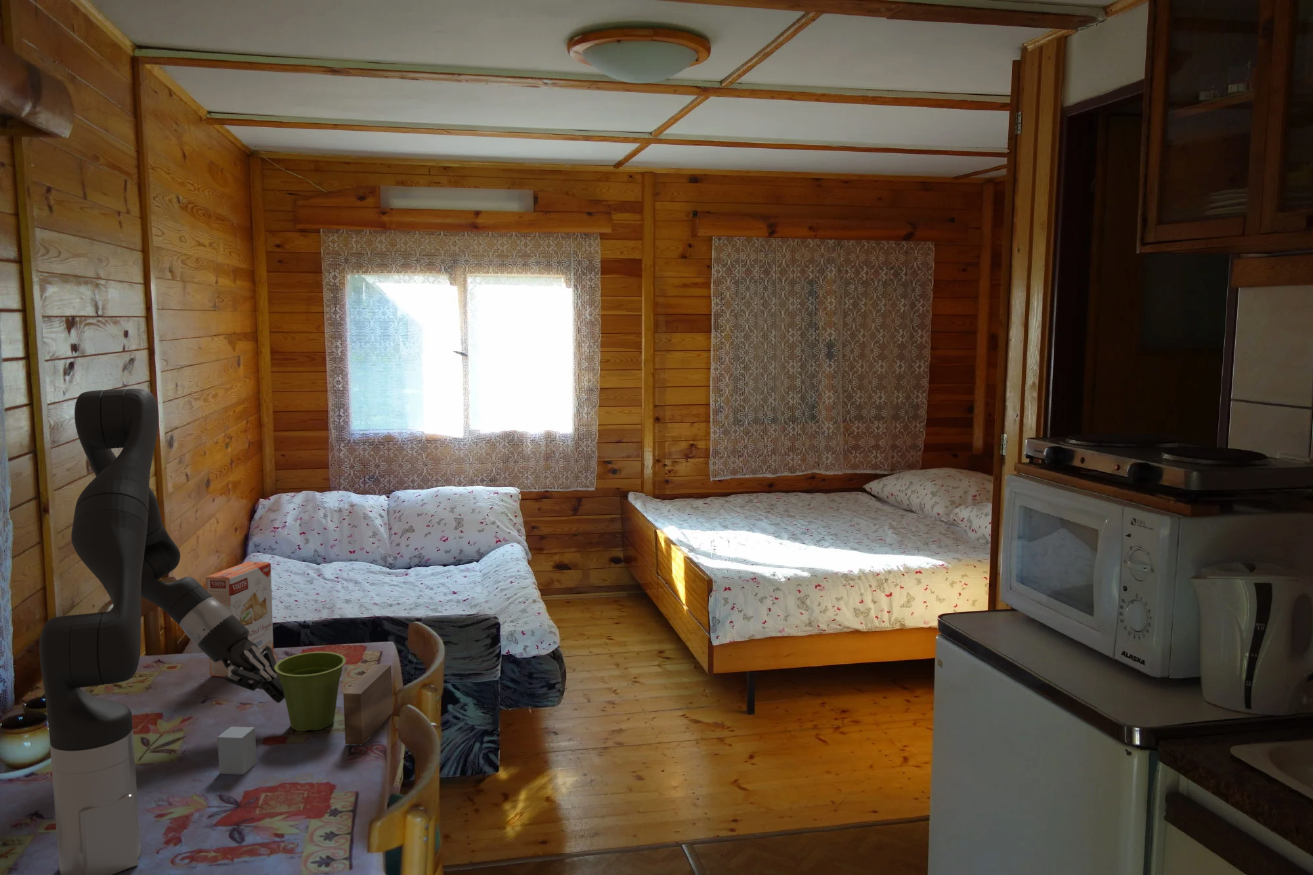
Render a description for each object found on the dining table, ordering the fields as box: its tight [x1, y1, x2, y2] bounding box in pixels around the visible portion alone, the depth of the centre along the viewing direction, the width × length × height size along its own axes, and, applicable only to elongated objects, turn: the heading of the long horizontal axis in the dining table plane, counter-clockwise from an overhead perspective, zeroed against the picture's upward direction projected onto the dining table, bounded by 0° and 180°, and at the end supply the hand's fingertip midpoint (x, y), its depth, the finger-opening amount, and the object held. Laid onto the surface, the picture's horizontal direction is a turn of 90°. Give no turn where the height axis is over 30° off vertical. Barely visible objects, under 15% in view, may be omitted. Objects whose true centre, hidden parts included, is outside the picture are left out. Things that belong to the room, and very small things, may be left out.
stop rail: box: [342, 663, 394, 745], centre depth 166 cm, size 3×14×9 cm, turn 175°
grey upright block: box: [217, 726, 257, 775], centre depth 151 cm, size 4×4×6 cm
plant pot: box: [274, 651, 347, 732], centre depth 167 cm, size 12×12×11 cm
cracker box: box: [205, 560, 275, 678], centre depth 196 cm, size 14×6×21 cm, turn 168°
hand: (284, 698), depth 167 cm, fingers closed
